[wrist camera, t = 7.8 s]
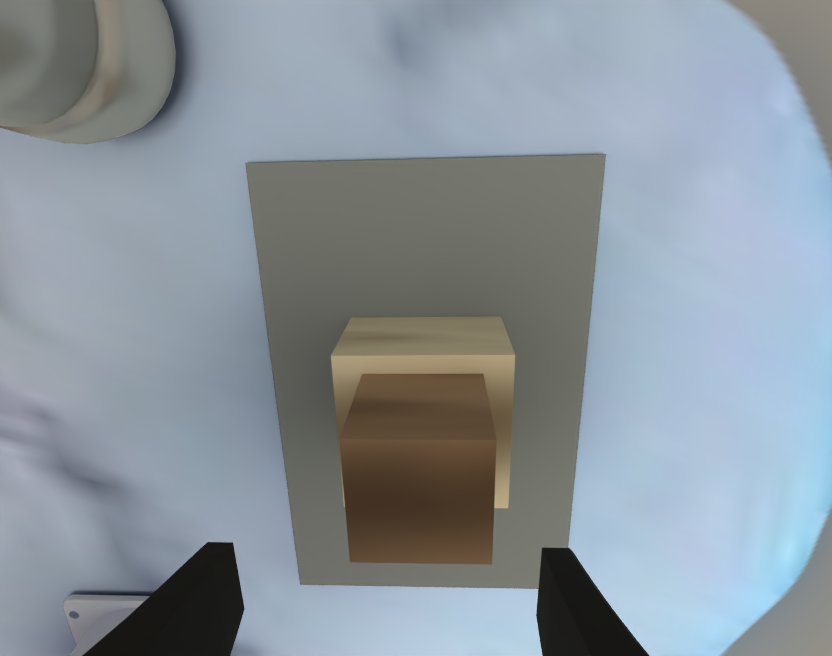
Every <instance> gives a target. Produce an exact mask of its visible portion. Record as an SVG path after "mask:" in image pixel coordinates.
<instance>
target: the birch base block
mask: <svg viewBox="0 0 832 656" xmlns="http://www.w3.org/2000/svg"><path fill="white" fill-rule="evenodd" d="M331 364H332V376H333V387H334V399H335V410H336V422H337V433H338V445H339V456H340V468H341V480H342V491H343V503H344V507H345V500H344V488H343V476H342V464H341V452H340V441H339V439H340V436H341V433H342V430H343V427H344V425H345V422H346V419H347V416H348V413H349V410H350V407H351V404H352V402H353V399H354V396H355V393H356V390H357V387H358V384H359V381H360V378H361V376H362V374H484V379H485V384H486V389H487V394H488V399H489V404H490V409H491V414H492V419H493V424H494V429H495V434H496V439H497V443H496V471H495V500H494V508H508V504H509V482H510V460H511V438H512V416H513V394H514V372H515V353H514V350H513V347H512V345H511V342H510V339H509V337H508V334H507V331H506V329H505V326H504V323H503V321H502V318H501V316H480V317H367V318H351V319H350V320H349V322H348V324H347V326H346V328H345V330H344V332H343V334H342V336H341V337H340V339H339V341H338V343H337V345H336V347H335V349H334V351H333V353H332V354H331Z"/></svg>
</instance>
